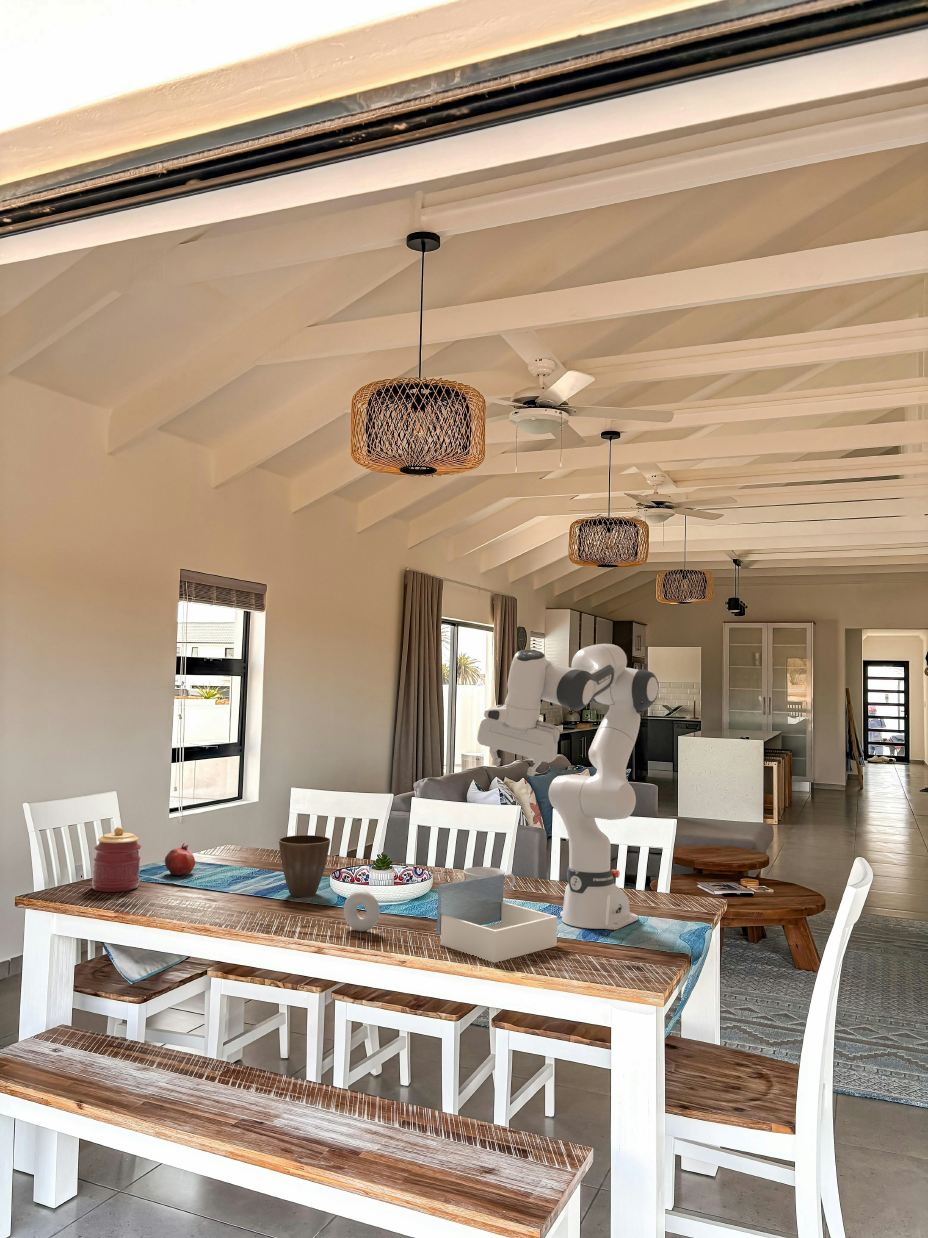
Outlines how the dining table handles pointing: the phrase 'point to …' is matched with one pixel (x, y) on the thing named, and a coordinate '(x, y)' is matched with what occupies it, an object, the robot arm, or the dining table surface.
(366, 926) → the donut
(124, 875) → the canister
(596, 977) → the dining table surface
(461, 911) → the grey rectangular panel
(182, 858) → the fruit
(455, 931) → the drawer box
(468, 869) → the teacup
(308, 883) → the plant pot
